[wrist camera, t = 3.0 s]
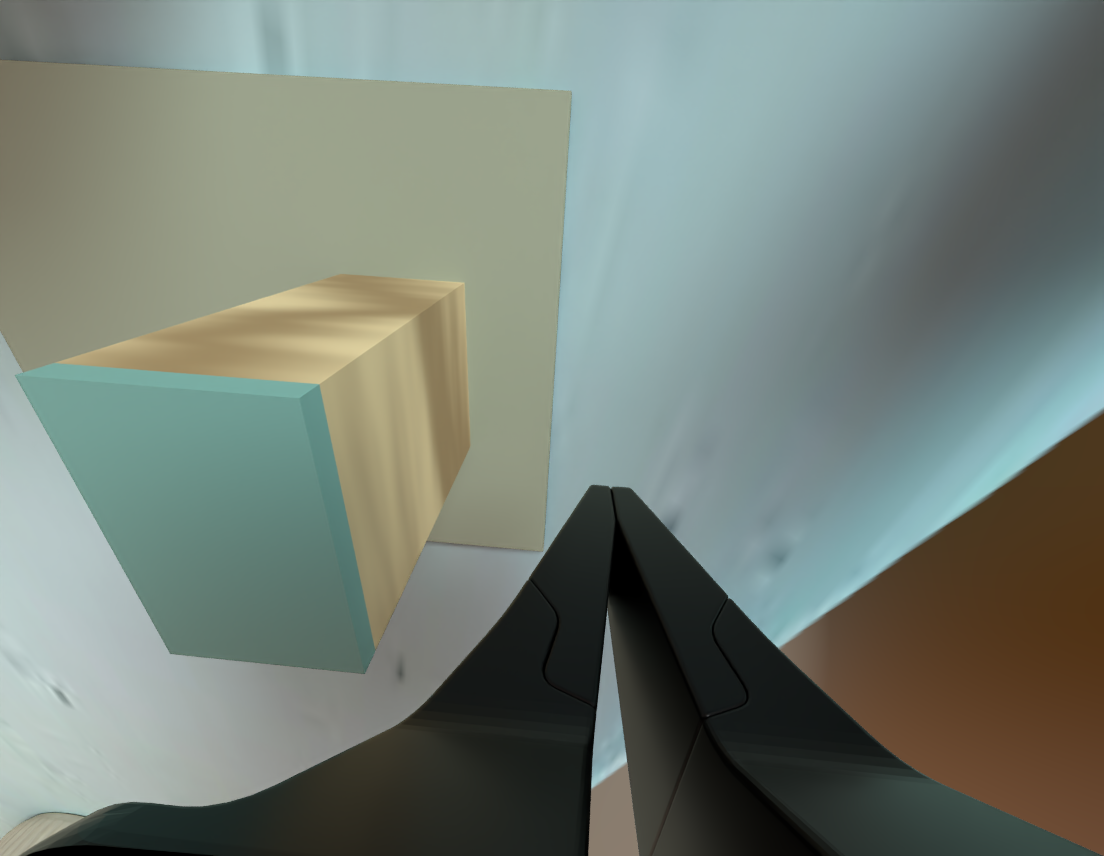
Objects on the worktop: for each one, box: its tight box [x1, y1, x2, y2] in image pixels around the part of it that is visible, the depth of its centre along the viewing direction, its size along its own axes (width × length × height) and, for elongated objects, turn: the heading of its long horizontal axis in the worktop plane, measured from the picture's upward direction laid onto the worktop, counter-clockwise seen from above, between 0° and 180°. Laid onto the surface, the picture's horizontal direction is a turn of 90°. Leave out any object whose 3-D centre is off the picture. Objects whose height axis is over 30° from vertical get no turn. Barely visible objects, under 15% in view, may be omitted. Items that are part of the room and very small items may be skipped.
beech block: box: [15, 274, 471, 674], centre depth 11 cm, size 4×6×9 cm, turn 177°
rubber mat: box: [0, 60, 572, 552], centre depth 16 cm, size 20×16×1 cm
